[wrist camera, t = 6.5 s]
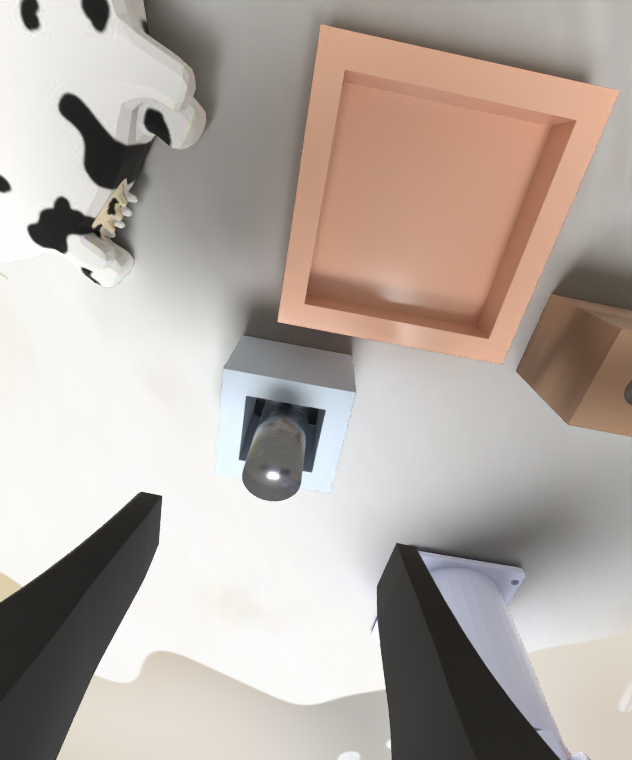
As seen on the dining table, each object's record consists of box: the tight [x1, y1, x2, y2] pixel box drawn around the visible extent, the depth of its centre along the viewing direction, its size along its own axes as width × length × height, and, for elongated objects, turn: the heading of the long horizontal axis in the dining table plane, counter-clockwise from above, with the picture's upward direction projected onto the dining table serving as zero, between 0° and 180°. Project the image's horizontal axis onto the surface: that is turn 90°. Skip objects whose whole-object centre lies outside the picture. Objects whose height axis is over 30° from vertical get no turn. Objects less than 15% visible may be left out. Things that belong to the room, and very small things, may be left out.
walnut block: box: [516, 294, 632, 437], centre depth 17 cm, size 4×4×5 cm
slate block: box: [214, 335, 356, 494], centre depth 19 cm, size 6×6×4 cm
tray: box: [277, 24, 620, 364], centre depth 16 cm, size 10×10×2 cm
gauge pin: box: [242, 399, 310, 501], centre depth 18 cm, size 2×2×7 cm
